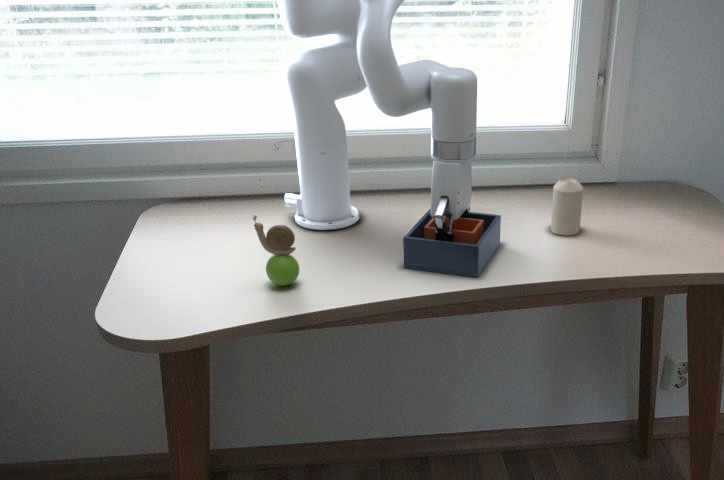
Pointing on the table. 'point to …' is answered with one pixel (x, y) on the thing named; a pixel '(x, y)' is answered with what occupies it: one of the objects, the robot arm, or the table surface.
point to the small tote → (459, 230)
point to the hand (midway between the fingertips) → (452, 244)
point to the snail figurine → (279, 253)
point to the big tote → (451, 248)
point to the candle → (566, 207)
